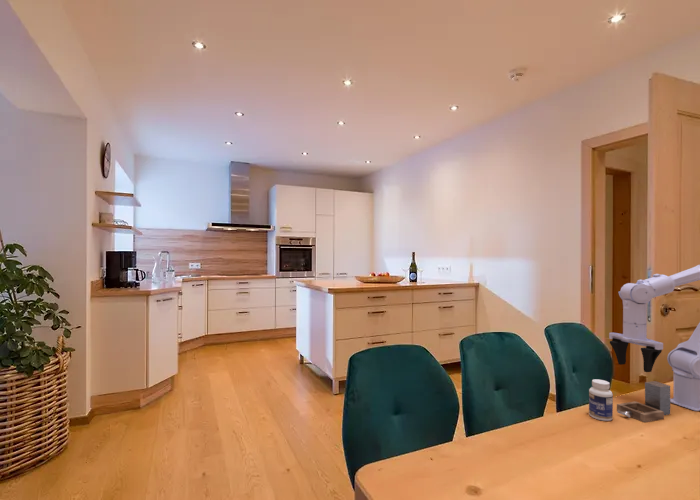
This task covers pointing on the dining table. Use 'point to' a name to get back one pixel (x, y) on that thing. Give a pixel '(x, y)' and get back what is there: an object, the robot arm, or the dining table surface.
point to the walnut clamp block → (646, 416)
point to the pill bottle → (600, 400)
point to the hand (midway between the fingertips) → (634, 367)
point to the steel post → (658, 396)
